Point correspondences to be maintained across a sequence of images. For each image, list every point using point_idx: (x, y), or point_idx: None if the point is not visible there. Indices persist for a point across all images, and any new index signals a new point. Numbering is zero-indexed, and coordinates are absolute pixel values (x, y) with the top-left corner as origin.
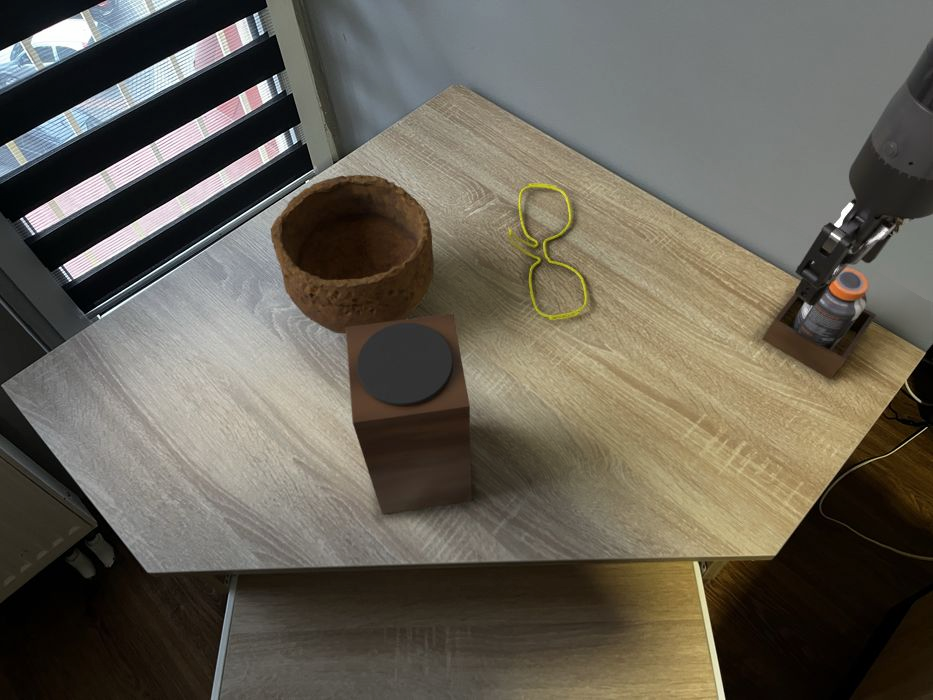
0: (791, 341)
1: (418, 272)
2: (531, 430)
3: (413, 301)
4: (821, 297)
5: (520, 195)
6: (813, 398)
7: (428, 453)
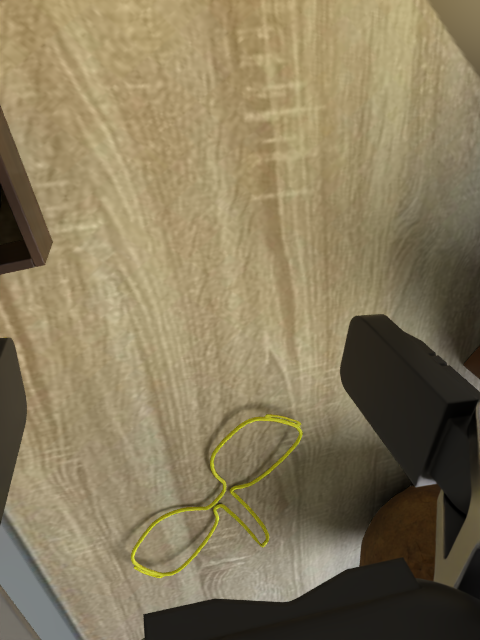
0: (29, 208)
1: None
2: (426, 316)
3: None
4: (378, 330)
5: (183, 567)
6: (63, 86)
7: None
